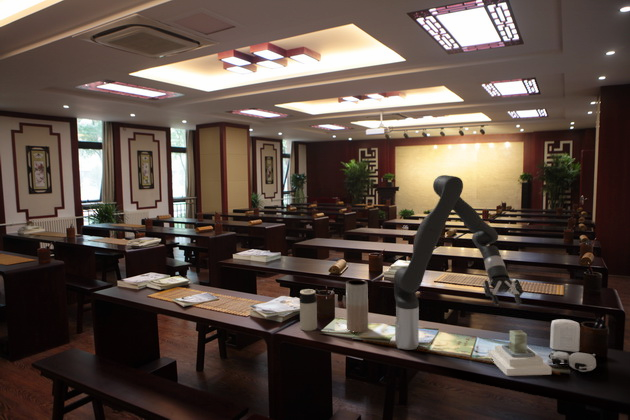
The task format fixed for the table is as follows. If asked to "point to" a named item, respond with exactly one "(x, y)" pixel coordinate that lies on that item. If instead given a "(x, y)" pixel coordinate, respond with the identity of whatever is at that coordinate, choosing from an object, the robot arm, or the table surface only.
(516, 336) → the block
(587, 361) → the robot toy
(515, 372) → the plinth
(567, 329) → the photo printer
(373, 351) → the table surface
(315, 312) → the travel mug
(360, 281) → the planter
